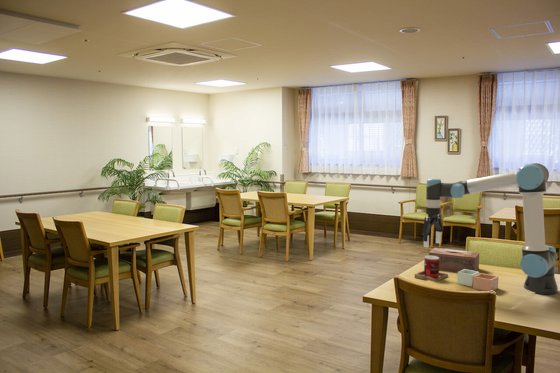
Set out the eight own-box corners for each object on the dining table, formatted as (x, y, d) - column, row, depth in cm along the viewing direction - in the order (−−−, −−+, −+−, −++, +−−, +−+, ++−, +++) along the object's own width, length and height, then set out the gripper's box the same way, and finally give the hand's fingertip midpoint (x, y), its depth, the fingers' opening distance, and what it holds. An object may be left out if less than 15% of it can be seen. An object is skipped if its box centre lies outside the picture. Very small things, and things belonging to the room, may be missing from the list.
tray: (447, 277, 266) (447, 274, 266) (436, 282, 257) (436, 278, 257) (426, 273, 275) (426, 269, 275) (414, 277, 266) (414, 274, 266)
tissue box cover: (478, 269, 284) (479, 252, 283) (474, 274, 272) (475, 257, 271) (434, 263, 297) (434, 247, 296) (428, 268, 285) (429, 252, 284)
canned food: (427, 273, 271) (427, 254, 270) (441, 276, 266) (441, 256, 265) (421, 276, 266) (422, 257, 264) (435, 279, 260) (436, 259, 259)
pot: (497, 289, 244) (498, 276, 244) (490, 293, 238) (491, 280, 238) (480, 286, 251) (480, 273, 250) (472, 289, 245) (473, 276, 244)
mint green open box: (478, 284, 253) (479, 271, 252) (472, 288, 247) (472, 274, 247) (464, 281, 259) (464, 269, 258) (457, 284, 253) (457, 271, 253)
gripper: (437, 204, 273) (436, 240, 275) (415, 208, 256) (414, 247, 258) (450, 205, 268) (449, 242, 270) (428, 210, 251) (427, 249, 253)
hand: (432, 245), depth 264 cm, fingers open, 13 cm apart
